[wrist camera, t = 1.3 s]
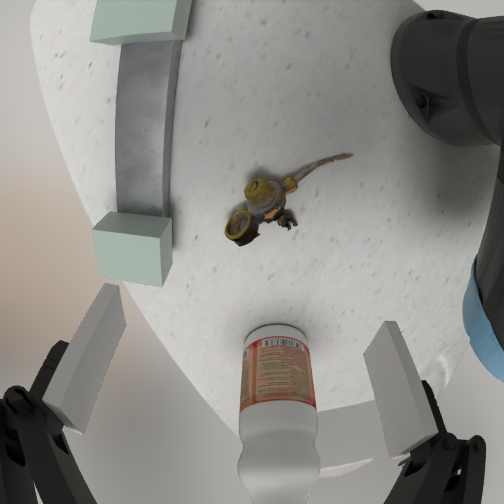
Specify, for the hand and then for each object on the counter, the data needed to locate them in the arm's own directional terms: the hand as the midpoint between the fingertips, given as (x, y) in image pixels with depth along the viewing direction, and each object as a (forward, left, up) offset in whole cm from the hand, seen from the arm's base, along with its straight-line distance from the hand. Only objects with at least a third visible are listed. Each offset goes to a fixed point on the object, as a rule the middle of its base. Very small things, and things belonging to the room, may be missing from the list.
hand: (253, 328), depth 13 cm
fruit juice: (-6, +22, -18) cm, 29 cm away
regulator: (-3, -1, -18) cm, 18 cm away
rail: (+11, -6, -18) cm, 22 cm away
